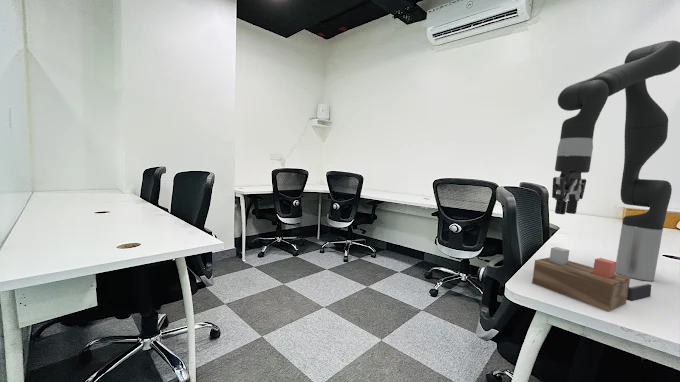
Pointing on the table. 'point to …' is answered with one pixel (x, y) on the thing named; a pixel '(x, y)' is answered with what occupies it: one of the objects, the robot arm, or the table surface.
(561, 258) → the grey plug
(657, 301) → the table surface
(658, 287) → the table surface
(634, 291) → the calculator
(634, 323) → the table surface
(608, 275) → the red plug
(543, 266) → the block
